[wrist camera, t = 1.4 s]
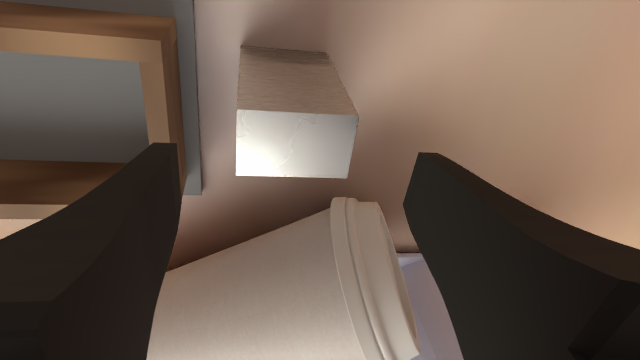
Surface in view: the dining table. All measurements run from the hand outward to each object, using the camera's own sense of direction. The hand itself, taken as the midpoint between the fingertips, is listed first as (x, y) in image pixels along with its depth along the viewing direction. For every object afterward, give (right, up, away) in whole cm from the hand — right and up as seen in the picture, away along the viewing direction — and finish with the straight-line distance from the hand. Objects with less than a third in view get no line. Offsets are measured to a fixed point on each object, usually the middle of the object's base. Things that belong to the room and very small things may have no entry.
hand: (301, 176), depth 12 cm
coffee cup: (-10, -9, +12) cm, 18 cm away
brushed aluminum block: (-1, +4, +8) cm, 9 cm away
